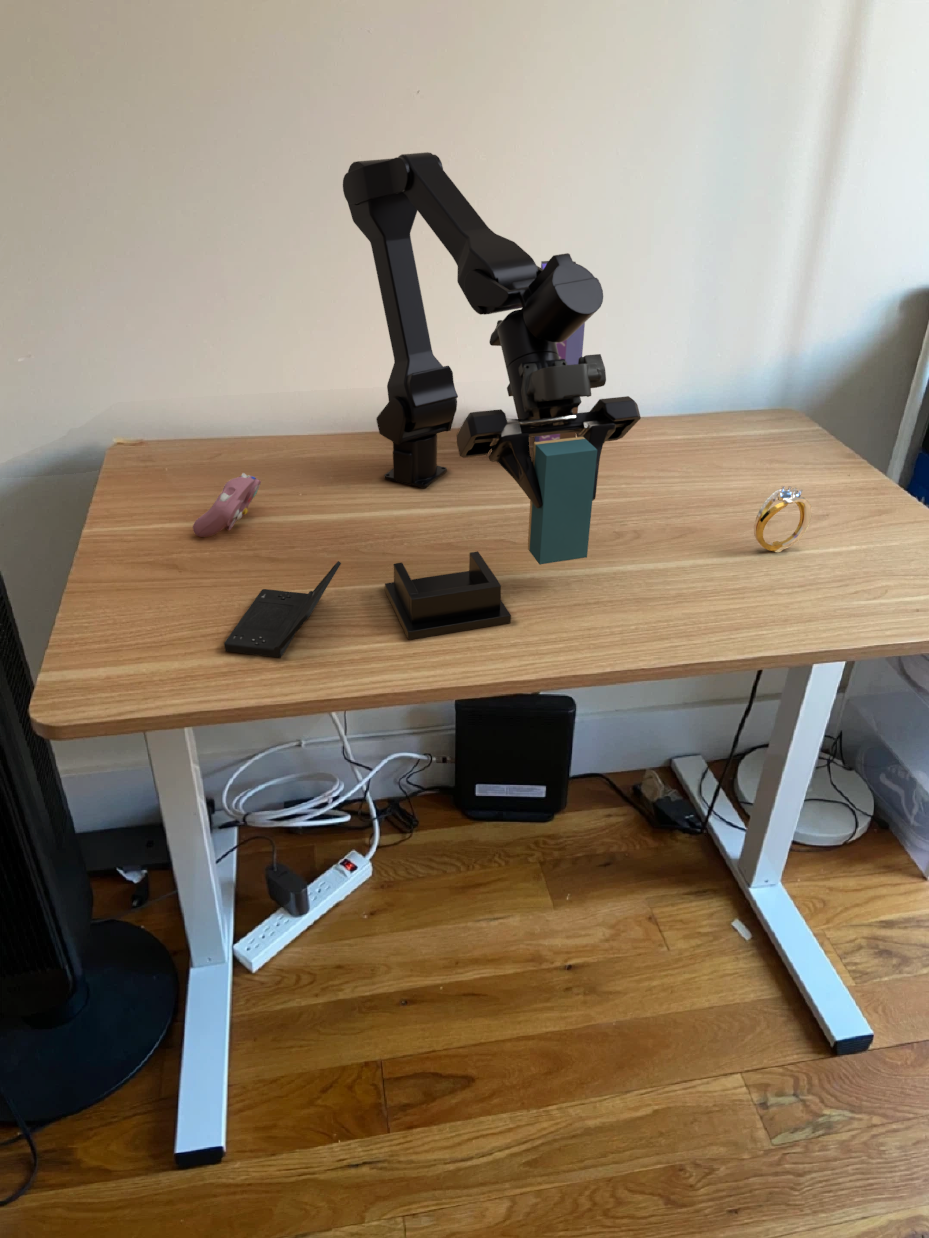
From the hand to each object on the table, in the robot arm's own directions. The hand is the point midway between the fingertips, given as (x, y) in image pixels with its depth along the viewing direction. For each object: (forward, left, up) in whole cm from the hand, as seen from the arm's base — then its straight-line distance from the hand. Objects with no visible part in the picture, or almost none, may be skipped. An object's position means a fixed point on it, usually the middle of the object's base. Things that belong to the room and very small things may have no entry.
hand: (566, 503), depth 98 cm
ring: (-21, +19, -11) cm, 31 cm away
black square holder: (+8, -10, -11) cm, 17 cm away
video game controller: (+4, -42, -11) cm, 44 cm away
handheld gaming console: (+20, -22, -11) cm, 31 cm away
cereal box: (-38, -17, -11) cm, 43 cm away
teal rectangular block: (-1, -1, -7) cm, 7 cm away
